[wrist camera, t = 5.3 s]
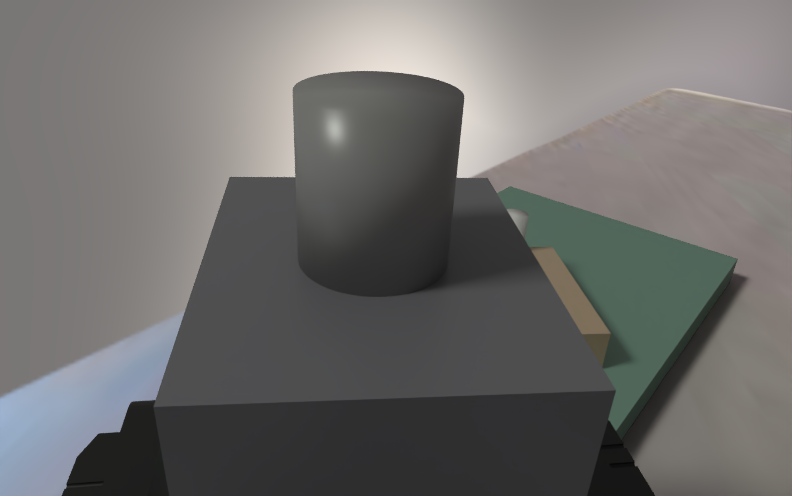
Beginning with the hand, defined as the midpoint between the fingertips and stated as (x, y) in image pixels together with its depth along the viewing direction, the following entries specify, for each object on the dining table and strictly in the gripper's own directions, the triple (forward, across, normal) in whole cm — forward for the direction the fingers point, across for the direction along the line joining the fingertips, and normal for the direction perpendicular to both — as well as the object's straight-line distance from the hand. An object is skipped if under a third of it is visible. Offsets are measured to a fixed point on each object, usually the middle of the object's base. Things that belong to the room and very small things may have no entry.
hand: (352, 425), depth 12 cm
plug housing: (-2, 0, +6) cm, 6 cm away
